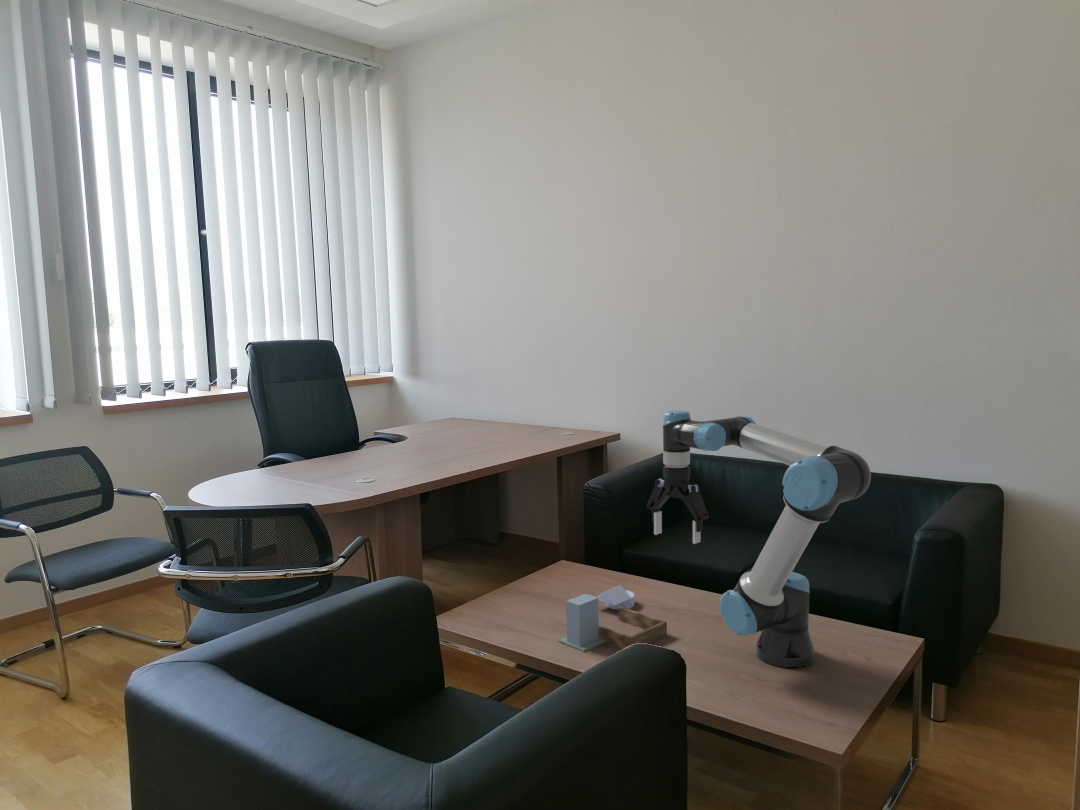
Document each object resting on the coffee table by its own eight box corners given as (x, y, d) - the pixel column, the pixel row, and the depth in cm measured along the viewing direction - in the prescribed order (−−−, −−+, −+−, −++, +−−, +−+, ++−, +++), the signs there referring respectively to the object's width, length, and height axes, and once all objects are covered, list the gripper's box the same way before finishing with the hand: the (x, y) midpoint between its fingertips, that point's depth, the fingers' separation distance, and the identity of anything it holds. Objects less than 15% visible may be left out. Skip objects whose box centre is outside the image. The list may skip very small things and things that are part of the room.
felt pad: (607, 641, 226) (607, 639, 226) (583, 651, 219) (583, 650, 219) (582, 631, 233) (582, 629, 233) (558, 641, 226) (558, 639, 226)
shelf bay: (666, 635, 229) (666, 621, 229) (631, 652, 218) (630, 638, 218) (620, 619, 242) (620, 606, 241) (584, 634, 231) (584, 621, 230)
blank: (598, 638, 227) (598, 597, 225) (579, 646, 221) (579, 605, 220) (586, 633, 230) (585, 593, 229) (566, 641, 225) (566, 600, 224)
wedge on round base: (614, 615, 245) (640, 604, 254) (614, 594, 244) (639, 583, 253) (592, 608, 251) (617, 597, 260) (592, 588, 250) (617, 577, 259)
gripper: (721, 468, 218) (721, 543, 220) (650, 458, 236) (650, 527, 238) (706, 472, 213) (705, 549, 215) (634, 461, 231) (634, 532, 233)
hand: (676, 538), depth 227 cm, fingers open, 13 cm apart
